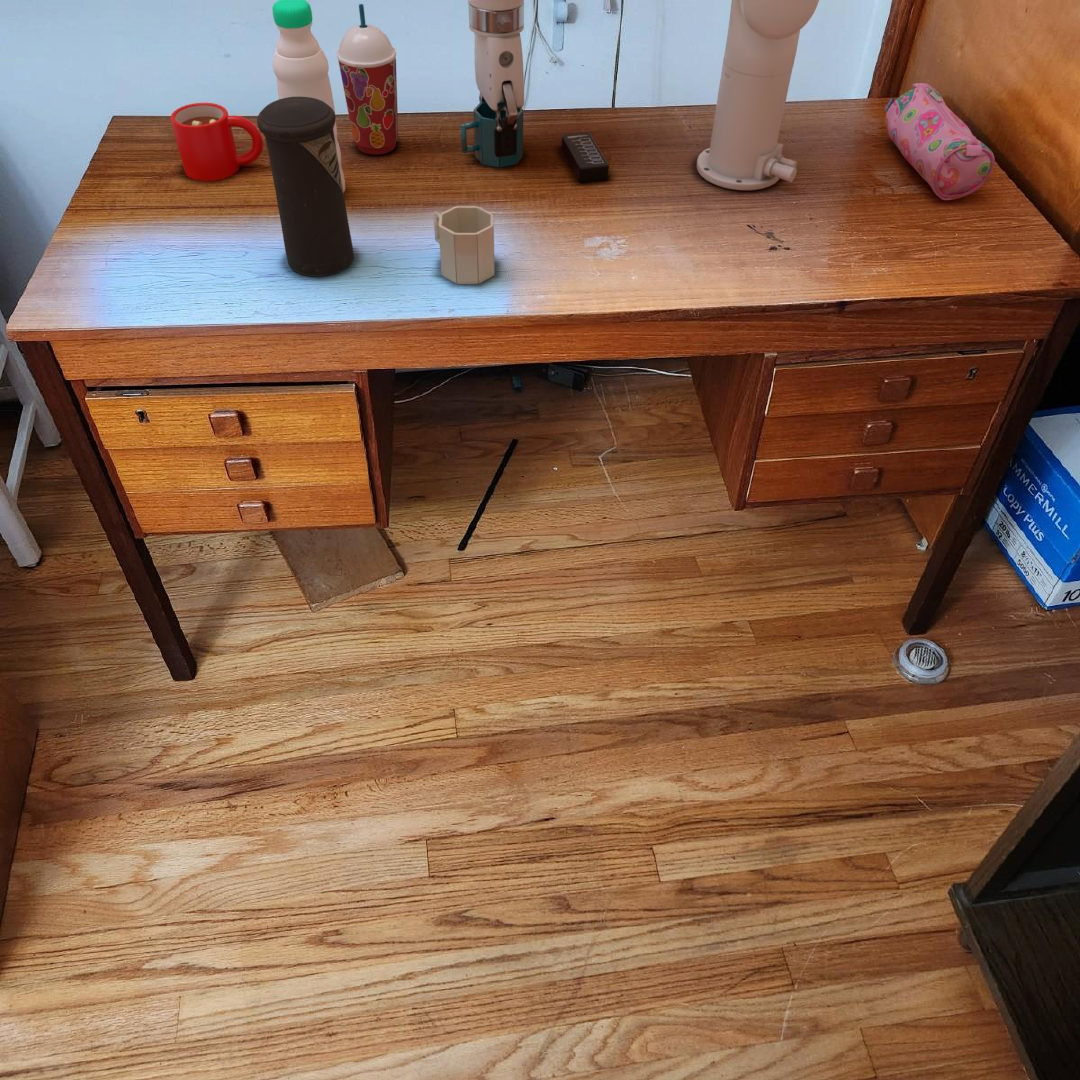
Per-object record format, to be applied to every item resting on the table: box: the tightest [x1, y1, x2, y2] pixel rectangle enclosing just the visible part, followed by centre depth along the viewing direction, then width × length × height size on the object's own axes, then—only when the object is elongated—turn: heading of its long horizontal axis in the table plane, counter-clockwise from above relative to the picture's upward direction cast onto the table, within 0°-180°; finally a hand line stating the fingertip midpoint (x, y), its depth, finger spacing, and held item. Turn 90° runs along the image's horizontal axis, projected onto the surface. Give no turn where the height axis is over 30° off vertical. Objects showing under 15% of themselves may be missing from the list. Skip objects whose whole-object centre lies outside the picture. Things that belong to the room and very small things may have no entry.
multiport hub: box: [560, 131, 610, 184], centre depth 143 cm, size 4×11×2 cm, turn 14°
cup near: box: [432, 205, 496, 285], centre depth 122 cm, size 9×7×7 cm
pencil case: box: [883, 82, 996, 201], centre depth 141 cm, size 21×9×9 cm, turn 5°
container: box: [256, 97, 355, 277], centre depth 118 cm, size 9×9×20 cm
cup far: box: [460, 101, 524, 168], centre depth 142 cm, size 9×7×7 cm
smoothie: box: [336, 3, 399, 156], centre depth 139 cm, size 8×8×20 cm
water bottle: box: [272, 0, 346, 193], centre depth 127 cm, size 7×7×25 cm
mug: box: [170, 102, 264, 182], centre depth 138 cm, size 8×12×8 cm, turn 97°
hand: (497, 142), depth 143 cm, fingers closed on cup far, 7 cm apart
